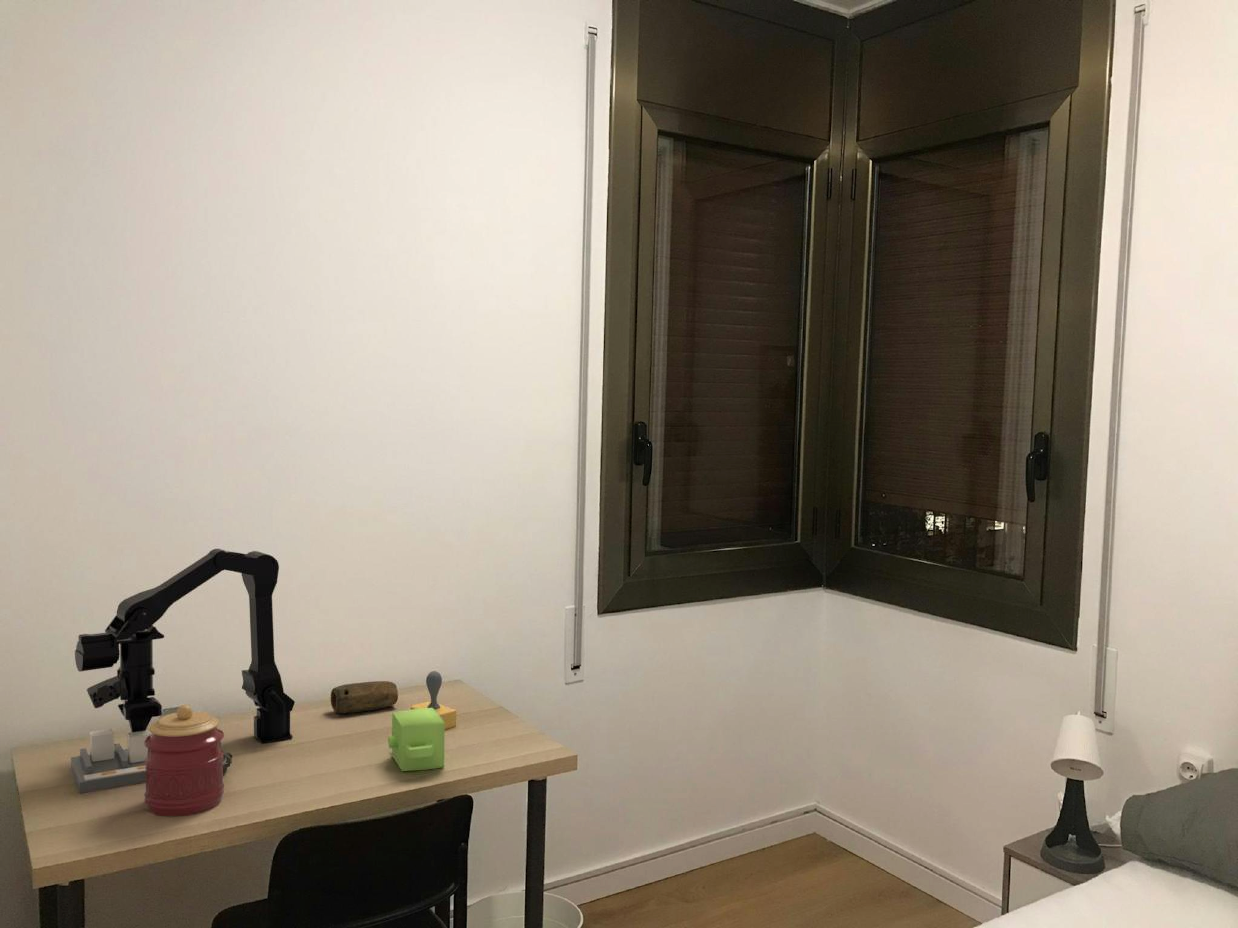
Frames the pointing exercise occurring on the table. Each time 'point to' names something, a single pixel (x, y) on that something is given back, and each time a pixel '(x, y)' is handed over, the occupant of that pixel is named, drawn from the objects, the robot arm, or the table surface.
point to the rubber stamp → (433, 688)
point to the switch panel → (106, 771)
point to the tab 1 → (101, 745)
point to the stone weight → (363, 696)
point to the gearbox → (417, 739)
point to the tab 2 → (137, 746)
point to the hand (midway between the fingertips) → (137, 742)
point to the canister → (184, 763)
